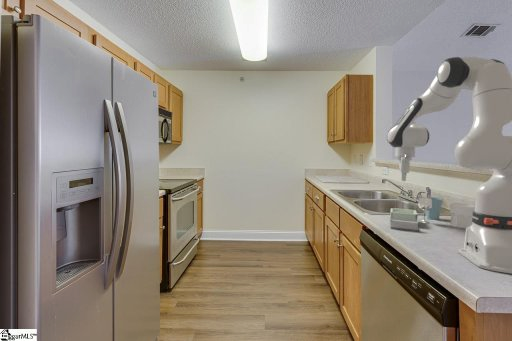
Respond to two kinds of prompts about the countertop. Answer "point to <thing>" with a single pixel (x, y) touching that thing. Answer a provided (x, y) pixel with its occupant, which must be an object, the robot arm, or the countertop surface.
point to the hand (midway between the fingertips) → (403, 180)
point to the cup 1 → (434, 208)
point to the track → (404, 225)
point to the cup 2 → (461, 214)
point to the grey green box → (403, 215)
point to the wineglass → (425, 206)
